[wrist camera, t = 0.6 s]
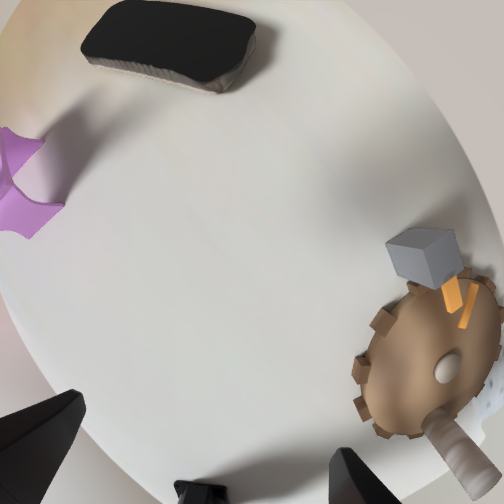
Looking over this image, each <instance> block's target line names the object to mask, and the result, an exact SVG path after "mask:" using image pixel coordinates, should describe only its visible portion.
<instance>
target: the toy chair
mask: <svg viewBox="0 0 504 504" xmlns="http://www.w3.org/2000/svg"><path fill="white" fill-rule="evenodd" d="M43 143H44V142H43V140H37V139H29V138H24V137H21V136H18V135H16V134H15V133H13V132H12V131H11V130H10V129H9V128H8V127H3V128H1V127H0V231H14V232H17V233H19V234H21V235H22V236H24V237H25V238H27V239H30V238H31V237H32V236H33V235H34V234H35V233H36V232H37V231H38V230H39V229H40V228H41V227H42V226H43V225H45V224H46V223H47V222H48V221H49V220H50V219H51V218H52V217H53V216H54V215H55V214H56V213H57V212H59V211H60V210H61V209H62V208H63V207H64V205H63V203H41V202H36V201H33V200H31V199H30V198H28V197H27V196H26V195H25V194H24V193H23V192H22V191H21V190H20V189H19V188H18V187H17V186H16V185H15V184H14V182H13V180H12V177H13V176H14V175H15V174H16V172H17V171H18V170H19V169H20V168H21V167H22V166H23V165H24V163H25V162H26V161H27V160H28V159H29V158H30V157H31V156H32V155H33V154H34V153H35V152H36V151H37V150H38V149H39V148H40V147H41V146H42V145H43Z"/></svg>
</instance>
